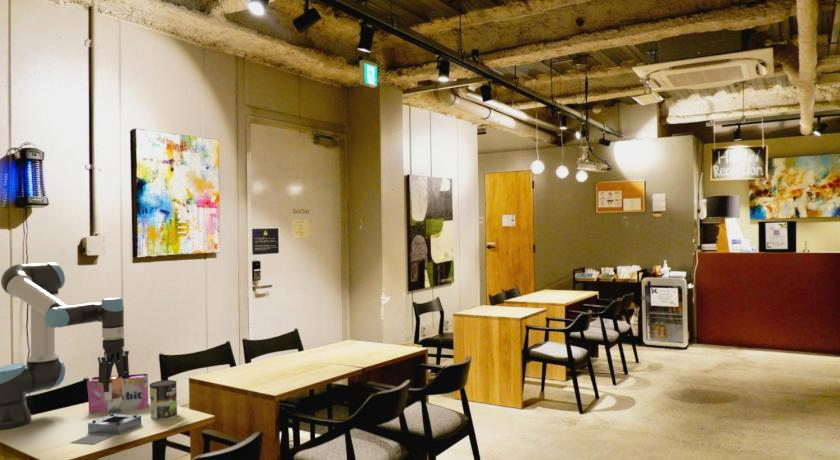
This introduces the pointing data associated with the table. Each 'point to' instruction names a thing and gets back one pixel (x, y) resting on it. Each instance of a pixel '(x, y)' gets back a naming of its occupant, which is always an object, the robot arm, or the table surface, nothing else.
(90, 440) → the mat
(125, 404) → the gum box
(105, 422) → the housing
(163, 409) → the coffee can
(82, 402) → the table surface
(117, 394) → the copper topped jar
